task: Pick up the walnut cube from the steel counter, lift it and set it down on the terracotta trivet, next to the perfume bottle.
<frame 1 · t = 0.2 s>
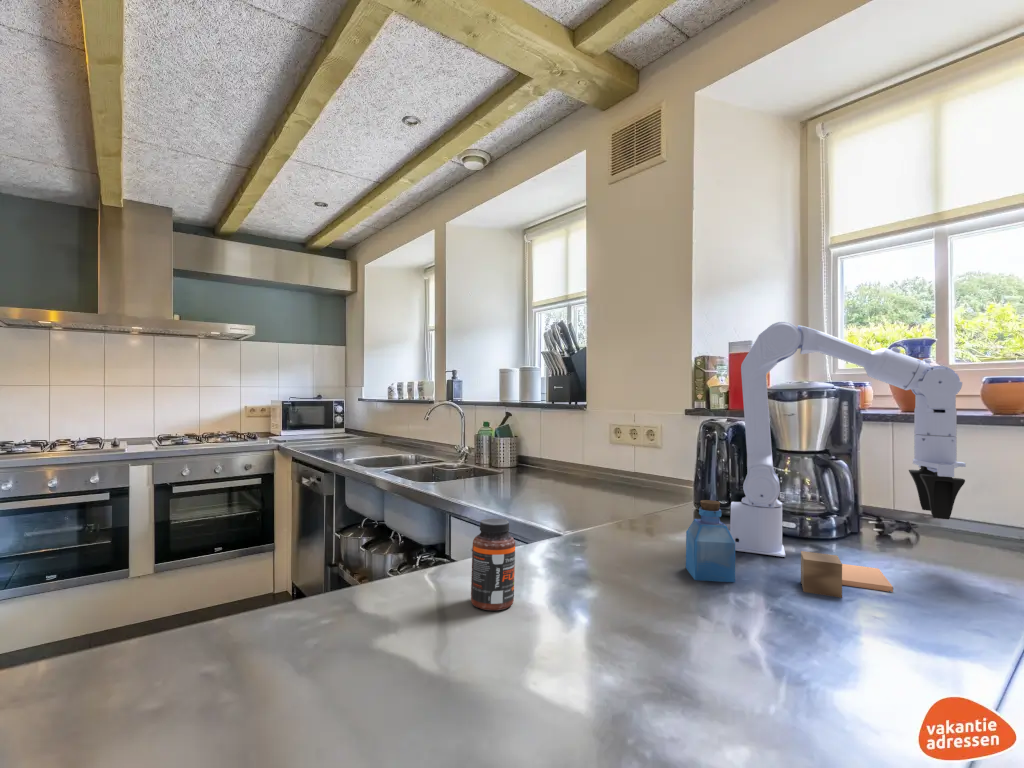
hand: (935, 514, 91), 10 cm above the counter, tool pointing down, fingers open, 7 cm apart
perfume bottle: (709, 576, 87), on the counter
trivet: (849, 577, 87), on the counter
supplement bottle: (492, 605, 72), on the counter
cube: (820, 590, 81), on the counter
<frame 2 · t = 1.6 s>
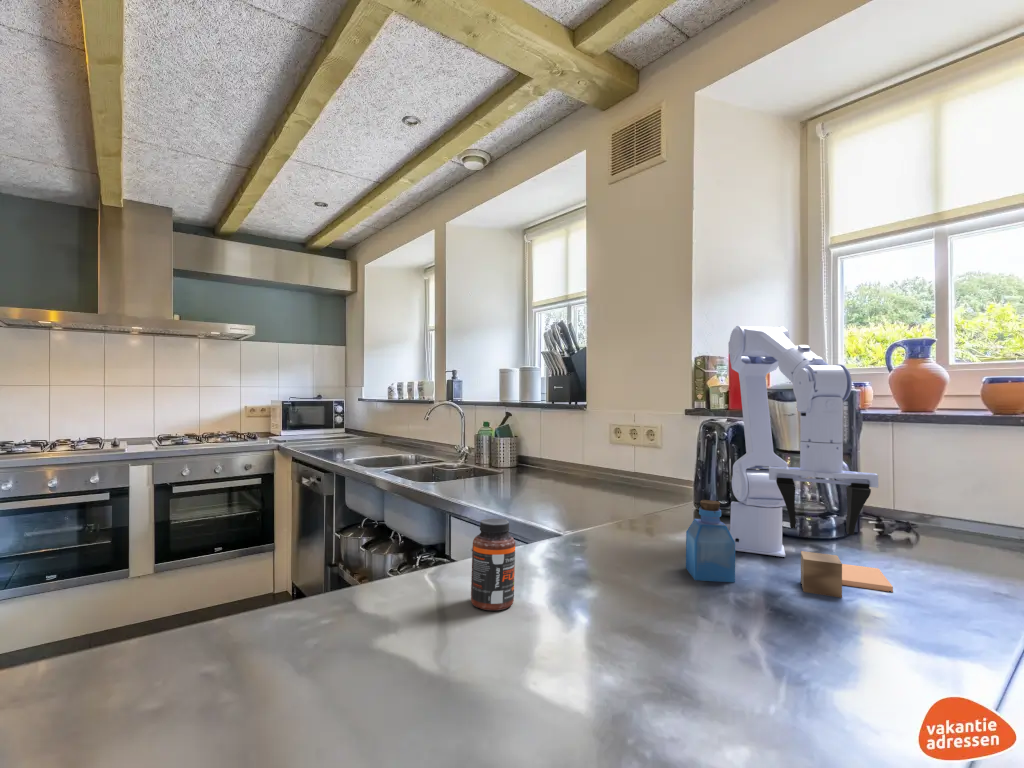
hand: (820, 530, 81), 9 cm above the counter, tool pointing down, fingers open, 7 cm apart
nothing on the counter moved.
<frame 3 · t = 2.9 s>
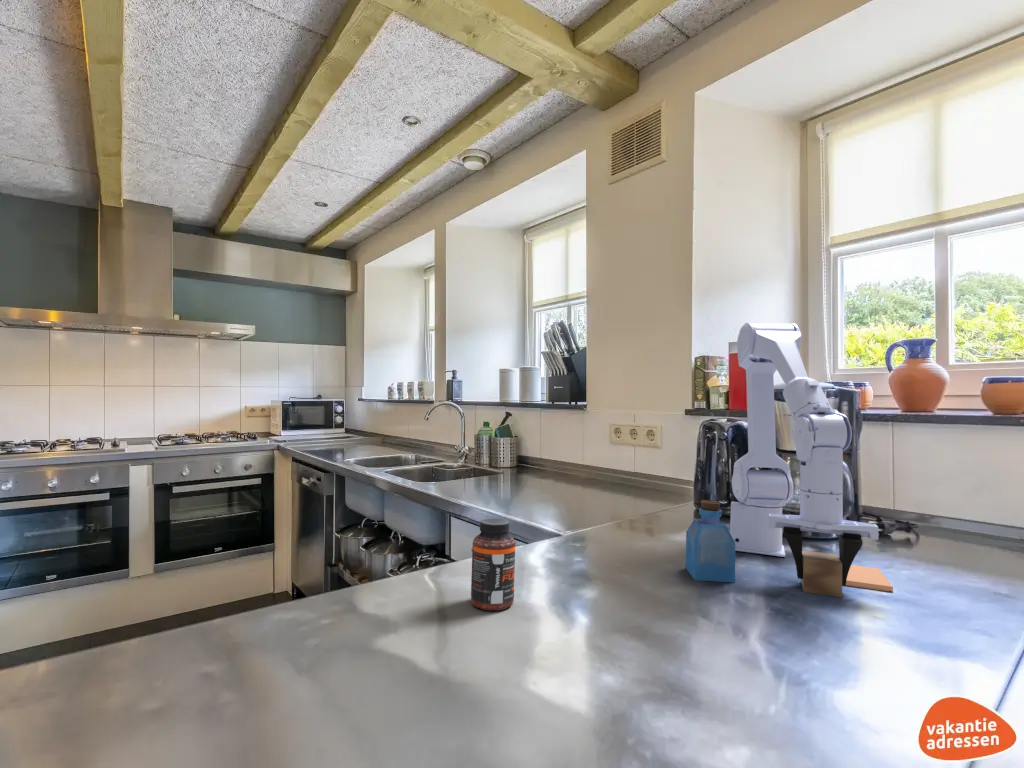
hand: (820, 579, 81), 1 cm above the counter, tool pointing down, fingers closed on cube, 5 cm apart
cube: (820, 589, 81), on the counter, touching gripper
everything else where it was.
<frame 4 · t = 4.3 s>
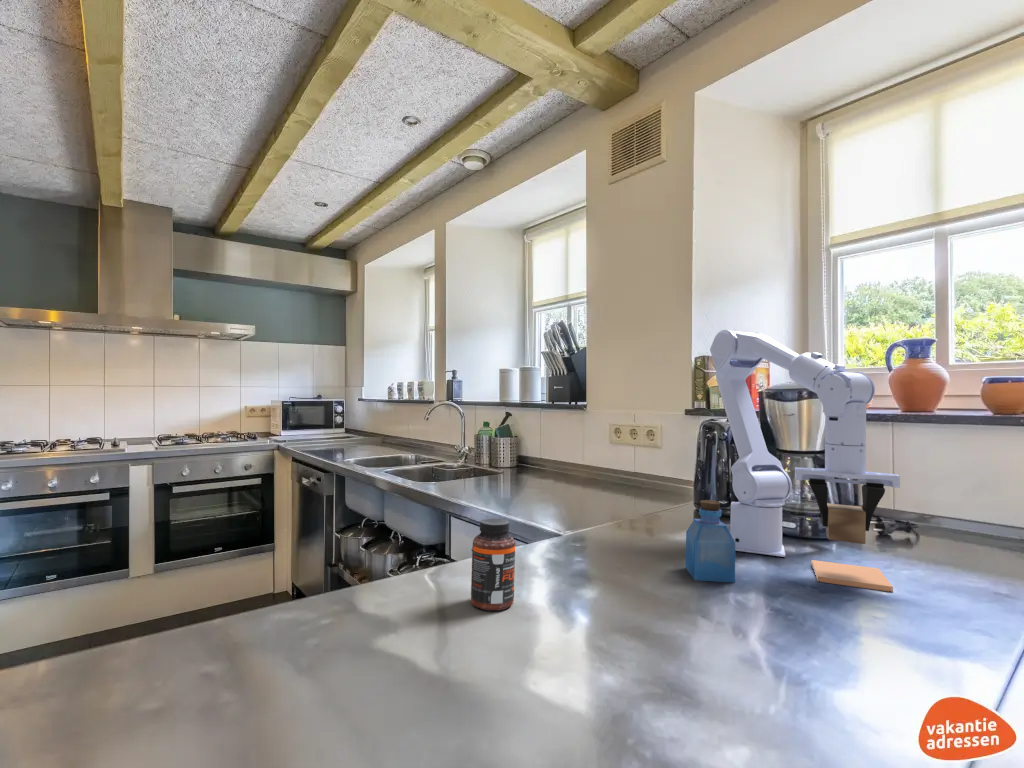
hand: (844, 527, 86), 8 cm above the counter, tool pointing down, fingers closed on cube, 5 cm apart
cube: (844, 538, 86), point 7 cm above the counter, touching gripper
everything else where it was.
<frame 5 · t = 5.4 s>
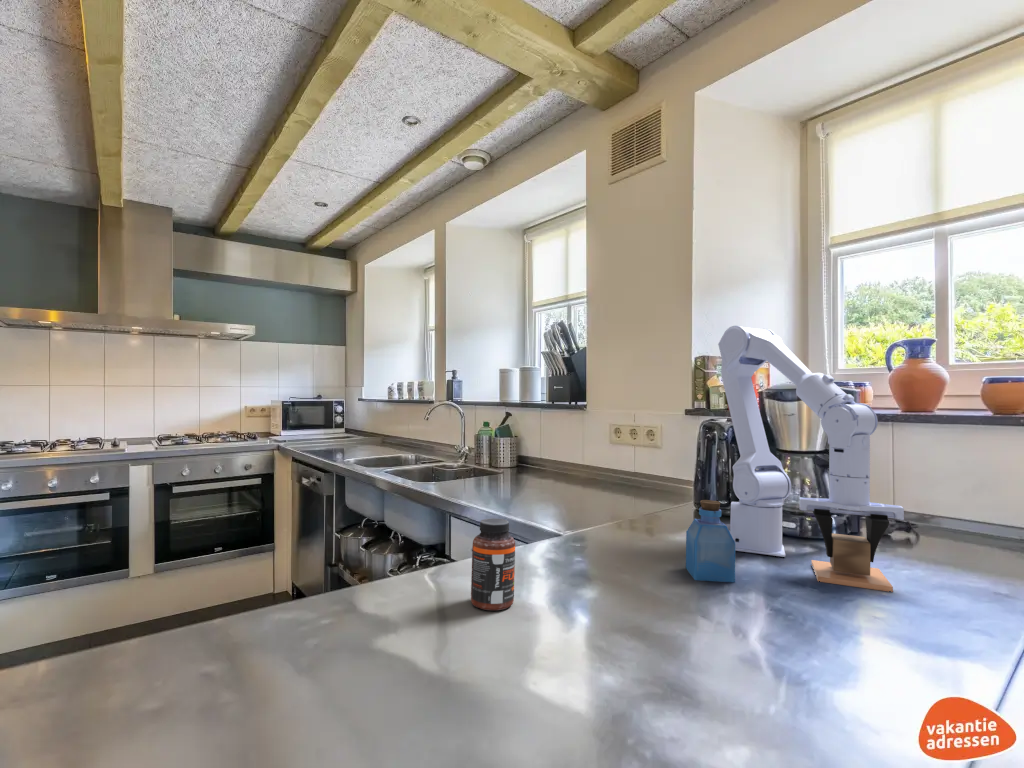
hand: (849, 558, 87), 3 cm above the counter, tool pointing down, fingers closed on cube, 5 cm apart
cube: (849, 568, 87), point 1 cm above the counter, touching gripper
everything else where it was.
when the fingers open (3 cm above the counter, at t = 6.0 s): cube stays where it is, resting on trivet.
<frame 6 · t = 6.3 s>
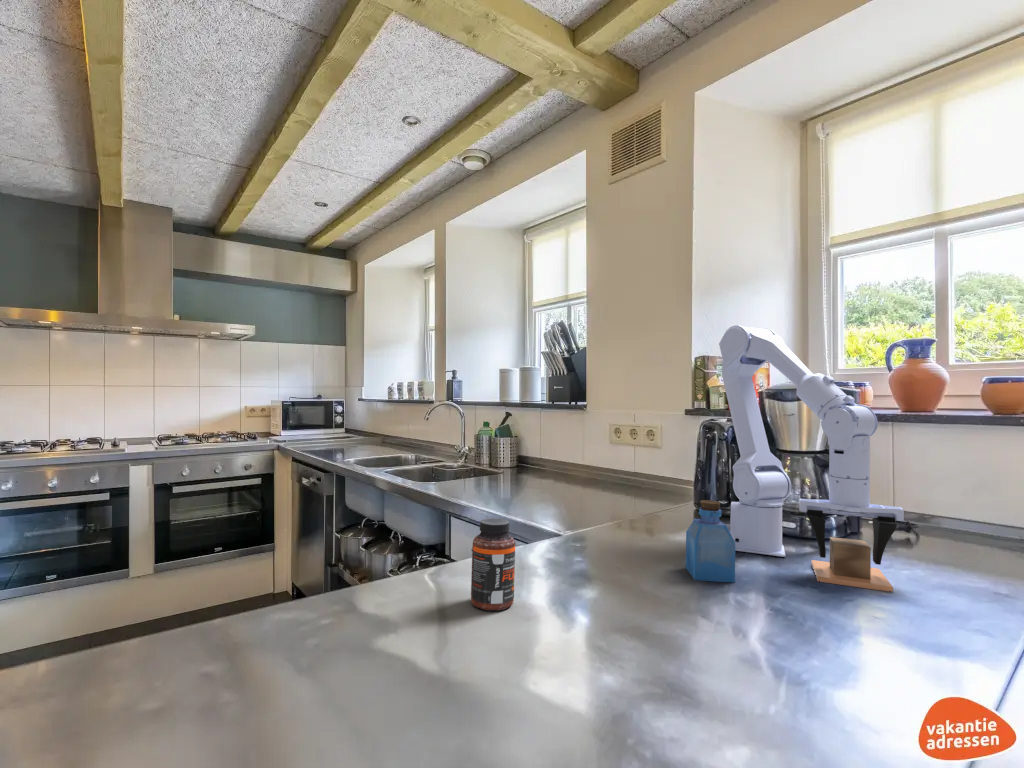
hand: (849, 559, 87), 3 cm above the counter, tool pointing down, fingers open, 7 cm apart
cube: (849, 572, 87), point 1 cm above the counter, touching trivet
everything else where it was.
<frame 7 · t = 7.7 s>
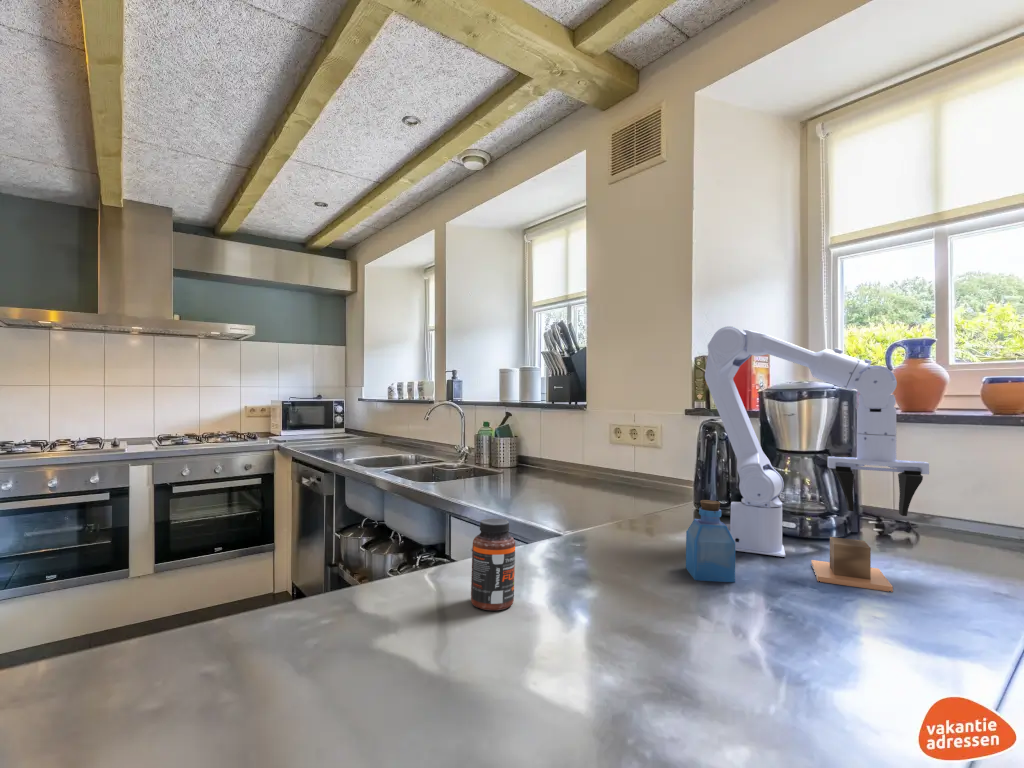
hand: (876, 512, 92), 10 cm above the counter, tool pointing down, fingers open, 7 cm apart
nothing on the counter moved.
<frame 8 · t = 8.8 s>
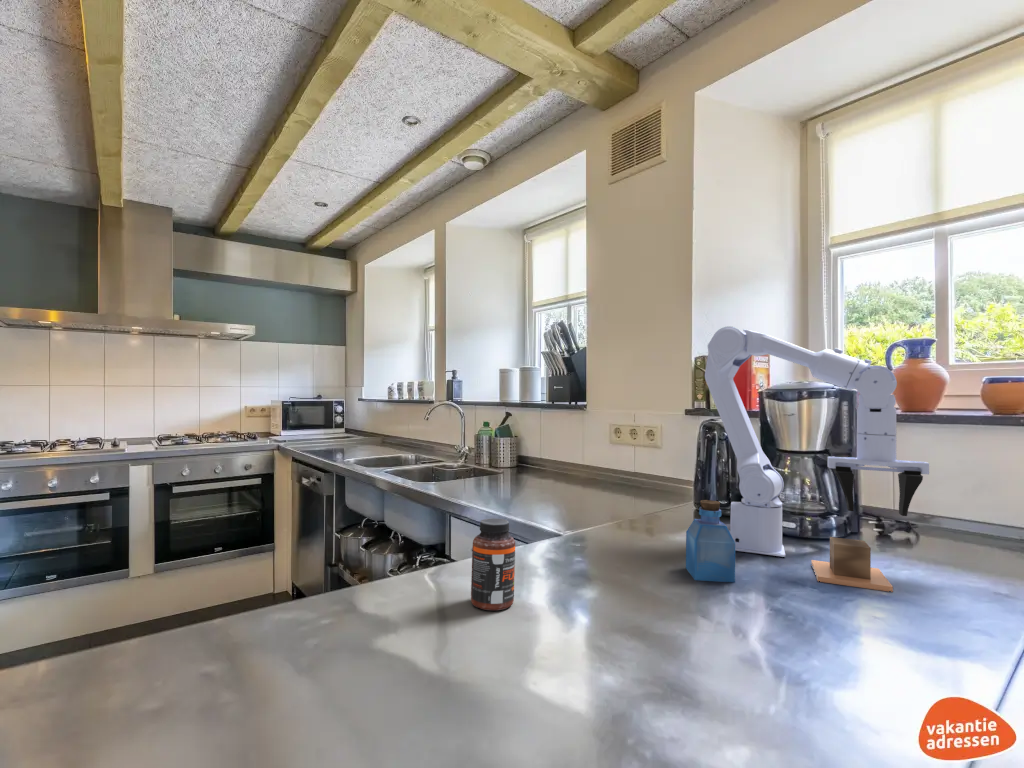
hand: (876, 512, 92), 10 cm above the counter, tool pointing down, fingers open, 7 cm apart
nothing on the counter moved.
at the end: cube inside the target area on the trivet (0.3 cm from its centre), point 0.8 cm above the trivet's base; cube tilted 0°; the gripper is holding nothing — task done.
